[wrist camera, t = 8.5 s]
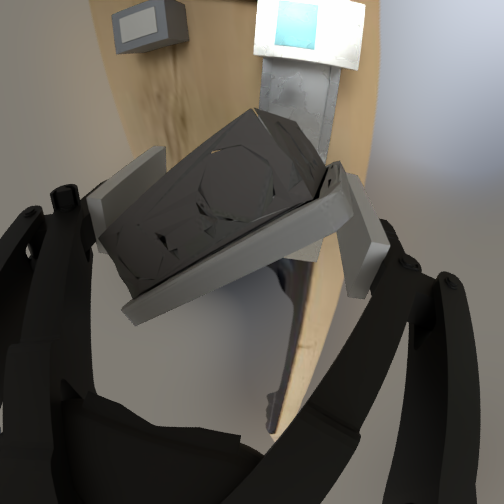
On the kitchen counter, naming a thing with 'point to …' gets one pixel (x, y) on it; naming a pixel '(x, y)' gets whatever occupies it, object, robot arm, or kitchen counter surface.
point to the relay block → (150, 26)
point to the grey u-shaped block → (306, 67)
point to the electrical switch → (226, 214)
